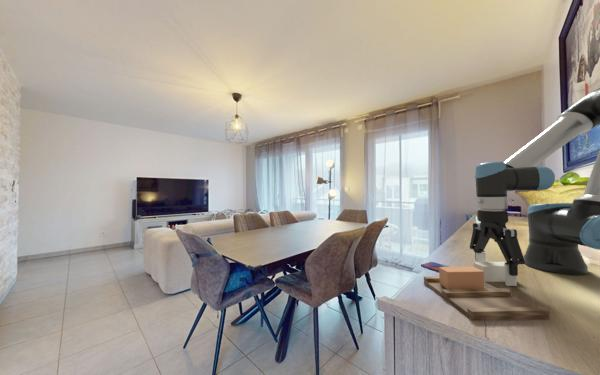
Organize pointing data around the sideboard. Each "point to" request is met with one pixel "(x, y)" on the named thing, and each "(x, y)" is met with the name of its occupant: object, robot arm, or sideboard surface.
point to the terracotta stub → (461, 278)
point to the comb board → (487, 303)
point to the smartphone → (433, 266)
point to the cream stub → (492, 271)
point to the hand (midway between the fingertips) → (495, 278)
